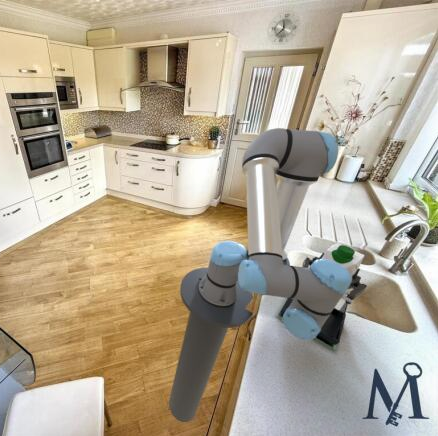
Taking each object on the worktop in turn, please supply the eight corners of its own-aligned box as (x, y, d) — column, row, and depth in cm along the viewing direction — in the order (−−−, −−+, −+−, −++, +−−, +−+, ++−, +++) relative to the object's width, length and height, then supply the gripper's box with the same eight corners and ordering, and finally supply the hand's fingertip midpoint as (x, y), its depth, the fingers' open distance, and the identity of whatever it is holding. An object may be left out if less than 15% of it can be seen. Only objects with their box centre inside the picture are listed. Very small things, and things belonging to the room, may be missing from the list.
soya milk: (301, 290, 81) (327, 243, 71) (313, 280, 86) (338, 235, 76) (329, 308, 75) (361, 260, 65) (340, 296, 80) (372, 250, 70)
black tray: (276, 317, 87) (287, 296, 81) (289, 294, 97) (299, 274, 91) (333, 351, 76) (350, 330, 71) (340, 321, 87) (356, 301, 81)
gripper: (274, 283, 73) (299, 255, 86) (359, 333, 59) (374, 291, 73) (282, 265, 69) (308, 239, 83) (375, 313, 55) (387, 273, 69)
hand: (338, 263), depth 78 cm, fingers closed on soya milk, 9 cm apart
